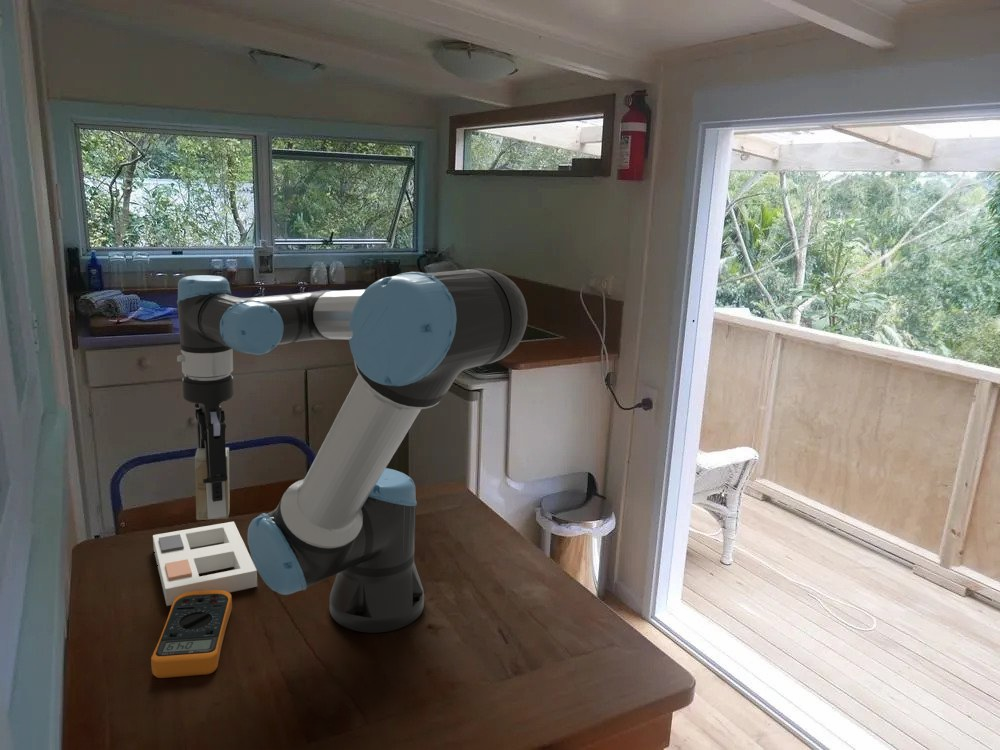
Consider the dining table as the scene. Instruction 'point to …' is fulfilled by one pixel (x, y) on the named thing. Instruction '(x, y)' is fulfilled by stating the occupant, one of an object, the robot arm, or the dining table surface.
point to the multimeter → (192, 634)
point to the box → (201, 488)
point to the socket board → (203, 560)
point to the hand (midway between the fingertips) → (214, 509)
